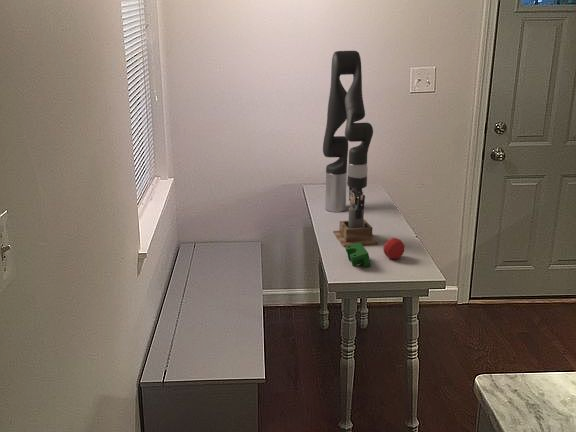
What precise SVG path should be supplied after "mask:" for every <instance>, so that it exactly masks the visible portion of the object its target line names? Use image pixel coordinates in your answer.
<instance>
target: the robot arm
mask: <svg viewBox="0 0 576 432" xmlns="http://www.w3.org/2000/svg"><path fill="white" fill-rule="evenodd" d="M361 59H362V58H361V56H360V53H359V51H357V50H337V51H334V52H333V54H332V57H331V71H330V73H331V75H330V88H329V96H328V103H327V113H326V116H327V117H326V125H325V132H324V137H323V143H322V152H323V156H324V157H325V158H337V160H335V161H334V162H332V163H328V164H326V167H325V203H324V204H325V205H324V206H325V207H324V209H325V210H326V211H328V212H332V213H337V212H338V213H339V212H344V211H346V208H347V187H348V190H349V191H348V201H349V202H350V201H351V197H353V198H354V204H355V206H356V215H355V218H356V219H361V214H362V209H364V210H365V203H366V201H365V200H366V195H365V194H364V191H363V189H365V188H366V187H367V185H368V152H369V148H370V144H371V141H372V139H373V135H374V128H373V125H372V124H371V123H369V122H360V121H361V120H363V119H365V116H366V110H365V104H364V98H363V81H362V80H363V79H362V78H363V76H362V75H363V74H362V72H363V71H362V60H361ZM342 75H344V76H345V75H352V76H353V78H352V79H353V80H352V82H351V84H350V87H349V88H348V90H347V91H346V89H345V87H344V86H343V84H342V82H341V79H340V77H341V76H342ZM345 122H346V125H345V129H344V135H342V136H341V135H339V136H338V135H337V136H336V135H335V134H336V132H338V130H339V128H341V126H343V124H344V123H345ZM349 142H351V143H353V142H354V143H356V142H357V143H358V142H360V144H359V145H357V146H353V147H351V148H349ZM356 200H358V201H356ZM359 205H360V206H359Z"/></svg>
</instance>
